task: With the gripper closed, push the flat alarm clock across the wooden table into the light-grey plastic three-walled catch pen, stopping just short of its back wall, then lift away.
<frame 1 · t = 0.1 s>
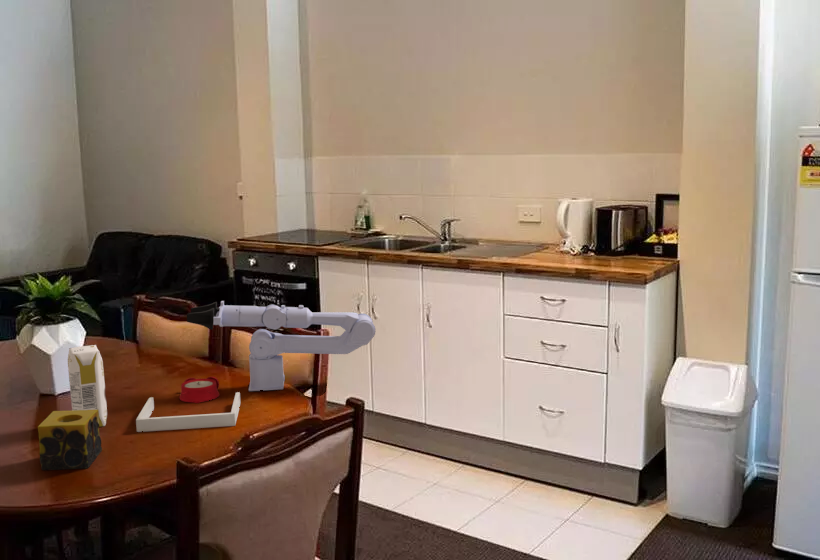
hand: (188, 314, 219), 22 cm above the table, tool horizontal, fingers open, 7 cm apart
yellow patterned cube: (72, 462, 174), on the table
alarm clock: (200, 396, 219), on the table
catch pen: (191, 416, 201), on the table
juice carton: (90, 424, 197), on the table
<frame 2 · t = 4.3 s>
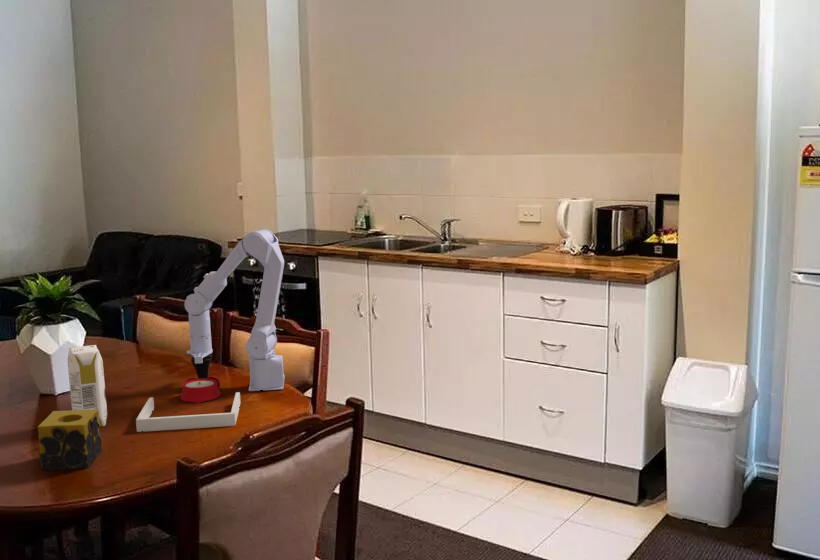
hand: (203, 381, 227), 1 cm above the table, tool pointing down, fingers closed
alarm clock: (201, 396, 219), on the table, touching gripper
everything else where it was.
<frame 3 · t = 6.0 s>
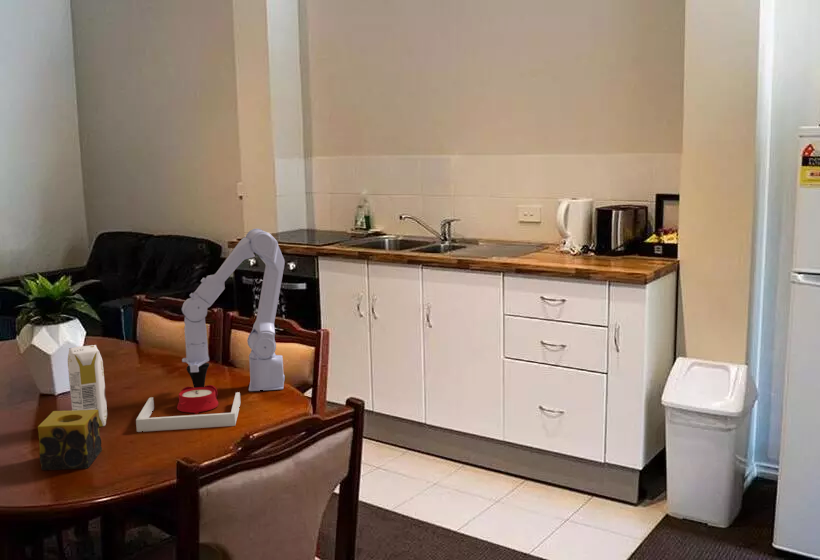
hand: (199, 390, 219), 1 cm above the table, tool pointing down, fingers closed
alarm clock: (198, 406, 211), on the table, touching gripper
everything else where it was.
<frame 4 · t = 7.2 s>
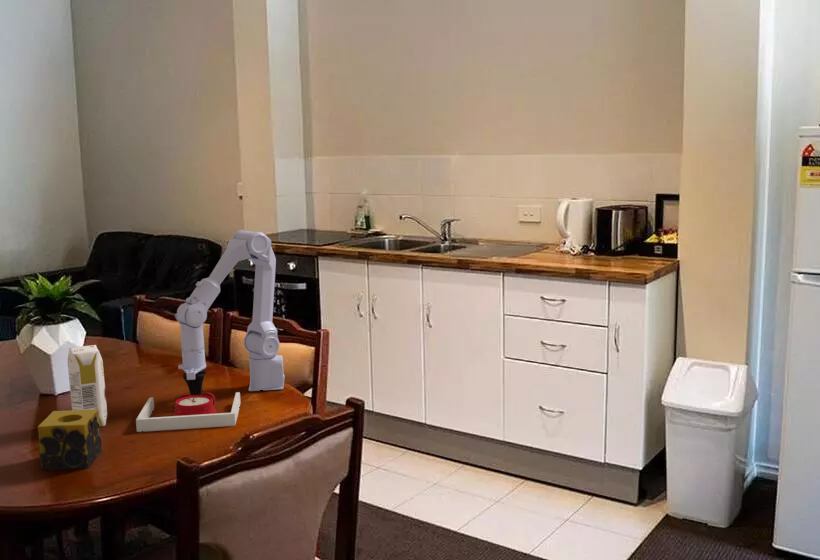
hand: (196, 398, 212), 1 cm above the table, tool pointing down, fingers closed
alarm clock: (195, 414, 204), on the table, touching gripper
everything else where it was.
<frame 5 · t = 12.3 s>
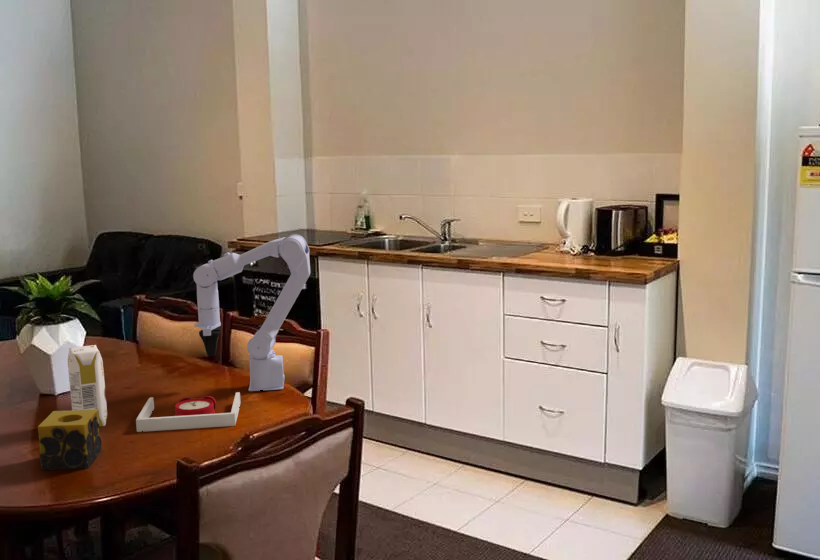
hand: (211, 355, 224), 9 cm above the table, tool pointing down, fingers closed
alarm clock: (196, 418, 201), on the table
everything else where it was.
at the end: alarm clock inside the target area (1.7 cm from its centre), on the table; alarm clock moved 18.3 cm from its start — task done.
